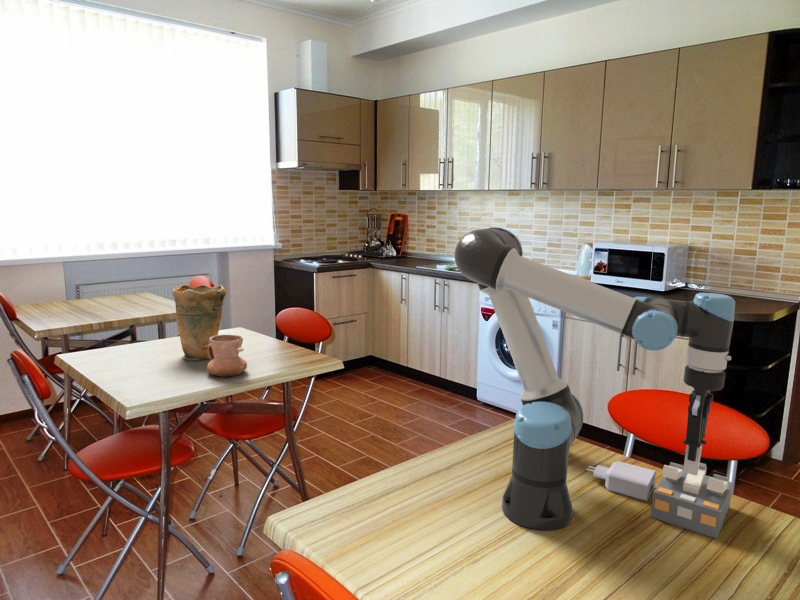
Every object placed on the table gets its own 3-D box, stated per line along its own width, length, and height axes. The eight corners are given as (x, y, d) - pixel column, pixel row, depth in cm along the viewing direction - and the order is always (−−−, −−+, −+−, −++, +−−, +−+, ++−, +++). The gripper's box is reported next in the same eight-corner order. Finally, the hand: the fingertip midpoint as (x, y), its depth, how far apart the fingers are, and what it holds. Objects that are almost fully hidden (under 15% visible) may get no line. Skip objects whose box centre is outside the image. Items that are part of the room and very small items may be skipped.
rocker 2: (698, 495, 124) (698, 486, 123) (682, 490, 126) (683, 482, 125) (706, 472, 130) (706, 463, 129) (691, 468, 132) (691, 460, 131)
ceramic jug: (257, 373, 222) (256, 336, 220) (228, 382, 210) (226, 343, 207) (225, 365, 231) (224, 331, 229) (195, 374, 219) (193, 337, 217)
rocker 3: (722, 493, 121) (724, 482, 121) (706, 488, 123) (708, 477, 123) (727, 488, 127) (728, 477, 127) (711, 484, 129) (713, 473, 129)
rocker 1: (676, 480, 126) (677, 469, 126) (661, 475, 128) (663, 465, 128) (682, 476, 133) (684, 465, 133) (668, 472, 134) (670, 461, 135)
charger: (592, 470, 149) (654, 487, 140) (581, 484, 141) (646, 503, 133) (593, 452, 148) (656, 469, 140) (583, 466, 140) (648, 484, 132)
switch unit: (716, 539, 119) (720, 509, 118) (650, 517, 126) (653, 488, 125) (729, 507, 132) (733, 479, 130) (668, 489, 139) (671, 462, 138)
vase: (237, 356, 243) (235, 286, 238) (191, 366, 228) (188, 291, 223) (212, 347, 257) (209, 280, 252) (167, 355, 243) (164, 284, 237)
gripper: (720, 378, 113) (703, 489, 117) (730, 364, 123) (715, 467, 128) (679, 370, 118) (664, 477, 122) (692, 357, 128) (678, 457, 132)
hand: (690, 472), depth 125 cm, fingers closed
